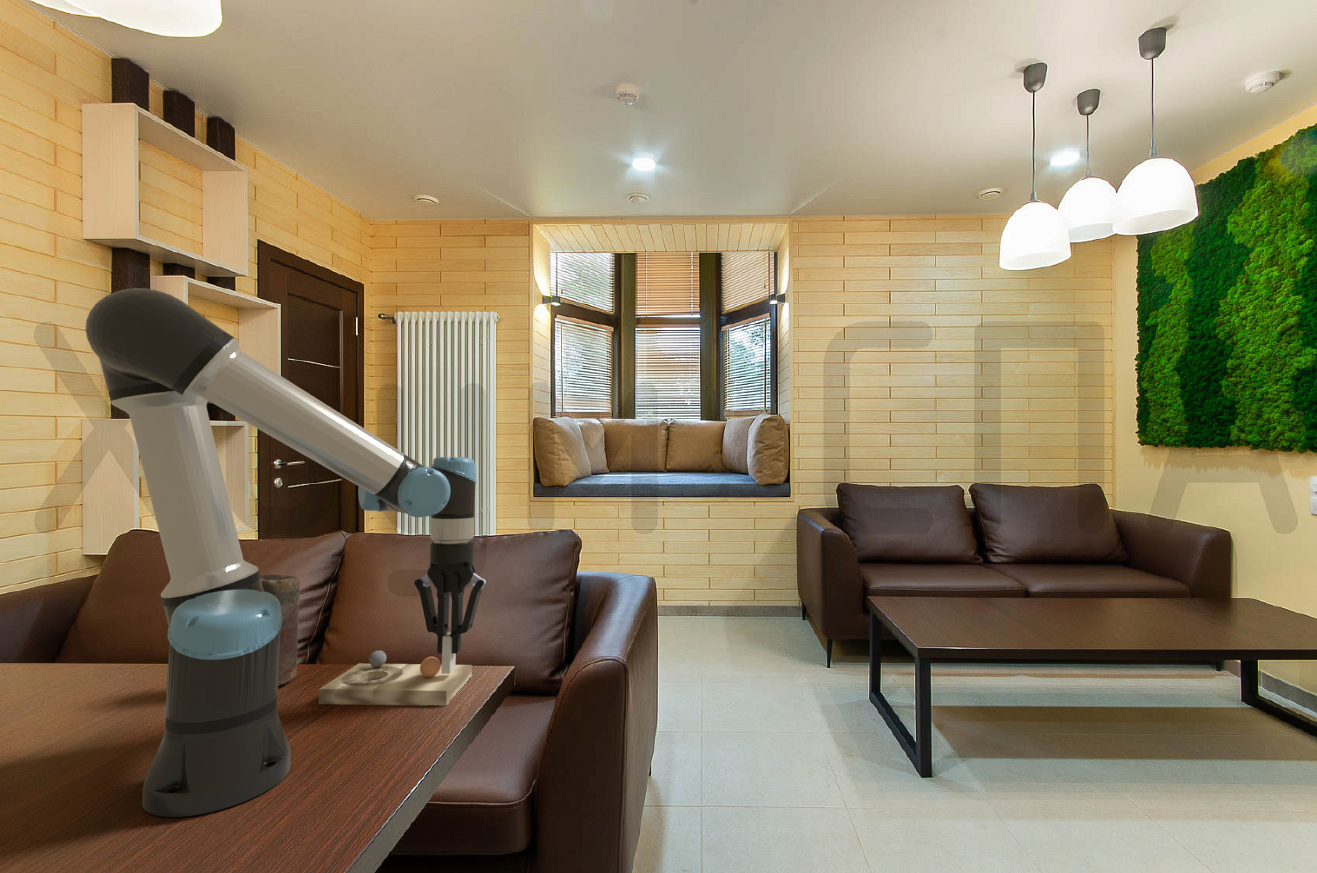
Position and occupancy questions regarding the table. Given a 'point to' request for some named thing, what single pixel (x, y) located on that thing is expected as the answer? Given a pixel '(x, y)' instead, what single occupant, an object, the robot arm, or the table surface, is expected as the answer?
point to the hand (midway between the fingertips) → (448, 671)
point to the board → (394, 685)
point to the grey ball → (377, 658)
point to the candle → (286, 621)
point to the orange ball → (430, 666)
